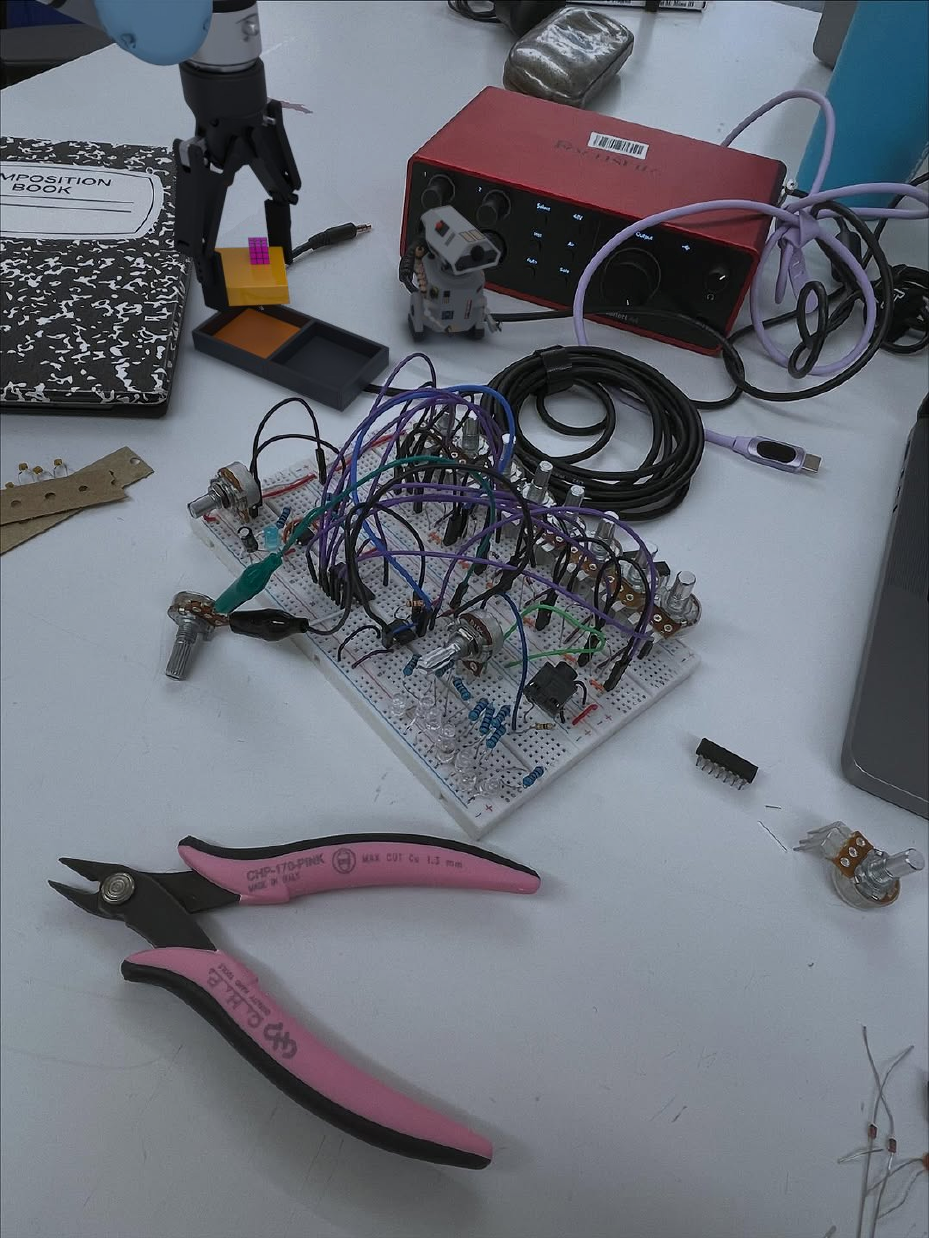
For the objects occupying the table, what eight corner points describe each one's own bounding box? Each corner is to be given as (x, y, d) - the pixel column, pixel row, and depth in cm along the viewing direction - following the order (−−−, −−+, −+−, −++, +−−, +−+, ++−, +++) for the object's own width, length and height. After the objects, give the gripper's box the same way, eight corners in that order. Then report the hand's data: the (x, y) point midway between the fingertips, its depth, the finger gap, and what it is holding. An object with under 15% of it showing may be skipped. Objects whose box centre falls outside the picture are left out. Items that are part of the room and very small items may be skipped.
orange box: (289, 304, 87) (286, 268, 83) (214, 307, 85) (208, 270, 82) (283, 264, 91) (280, 228, 88) (212, 266, 90) (206, 229, 86)
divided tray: (194, 349, 92) (190, 331, 90) (248, 307, 98) (245, 290, 96) (342, 411, 88) (341, 394, 86) (389, 364, 94) (389, 347, 92)
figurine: (423, 372, 94) (431, 251, 82) (405, 316, 100) (410, 196, 88) (496, 368, 96) (514, 248, 84) (474, 313, 102) (488, 195, 90)
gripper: (167, 111, 63) (211, 347, 81) (328, 31, 76) (336, 249, 94) (93, 85, 65) (152, 323, 82) (263, 11, 78) (283, 229, 95)
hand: (250, 283), depth 88 cm, fingers closed on orange box, 11 cm apart
